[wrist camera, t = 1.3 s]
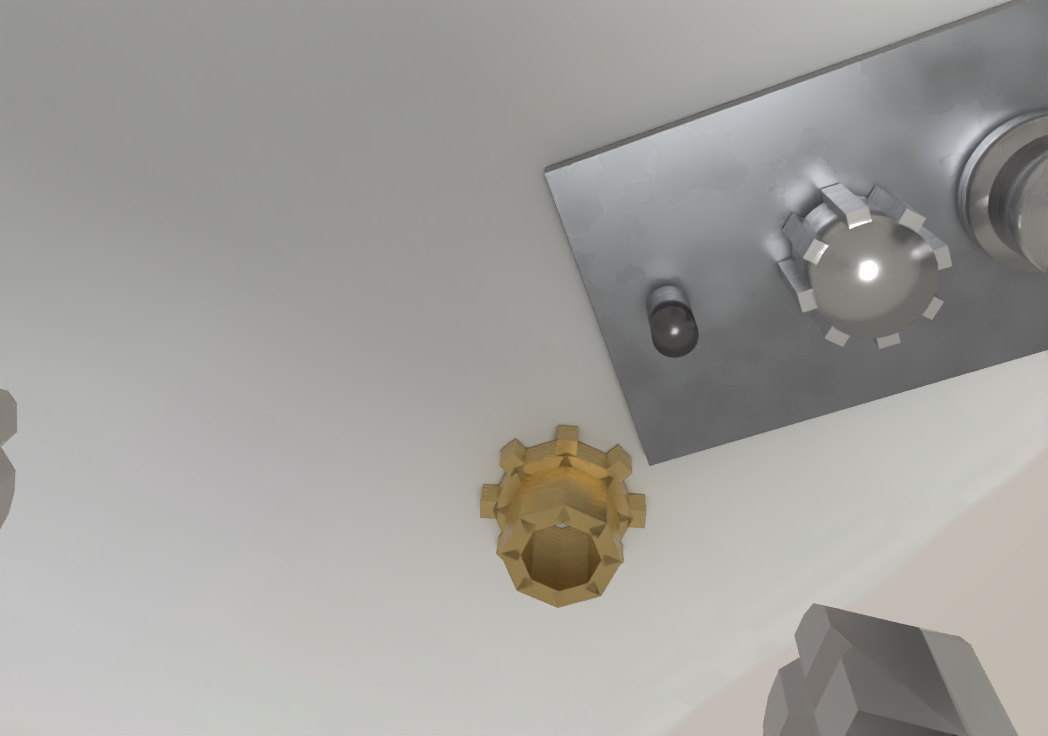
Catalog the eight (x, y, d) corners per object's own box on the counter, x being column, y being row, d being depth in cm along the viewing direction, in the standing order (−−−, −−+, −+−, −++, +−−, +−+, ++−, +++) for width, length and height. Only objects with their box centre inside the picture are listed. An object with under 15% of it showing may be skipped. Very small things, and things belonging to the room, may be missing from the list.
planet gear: (517, 579, 48) (510, 645, 43) (462, 454, 45) (449, 510, 41) (660, 540, 46) (669, 603, 42) (612, 408, 44) (616, 461, 39)
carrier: (647, 453, 45) (658, 532, 39) (545, 167, 40) (538, 205, 34) (1124, 313, 41) (1221, 375, 35) (1075, -22, 36) (1177, -18, 30)
